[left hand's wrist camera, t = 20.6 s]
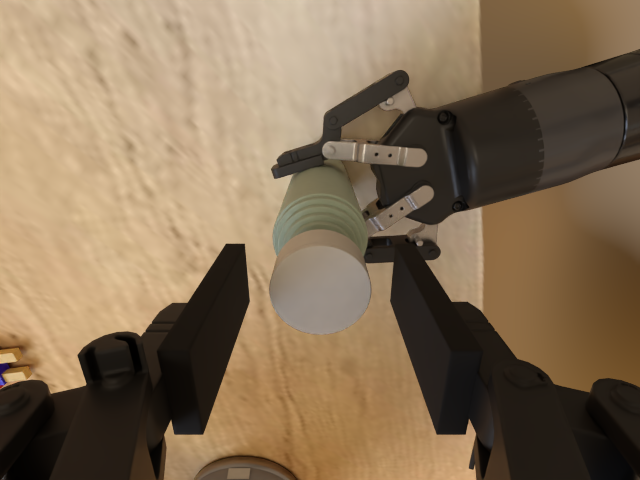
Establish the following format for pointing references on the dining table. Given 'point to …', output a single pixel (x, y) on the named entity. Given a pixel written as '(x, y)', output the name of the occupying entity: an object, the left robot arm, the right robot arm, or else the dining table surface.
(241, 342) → the dining table surface
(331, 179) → the bottle
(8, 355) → the toy figure
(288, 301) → the cap
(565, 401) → the left robot arm
